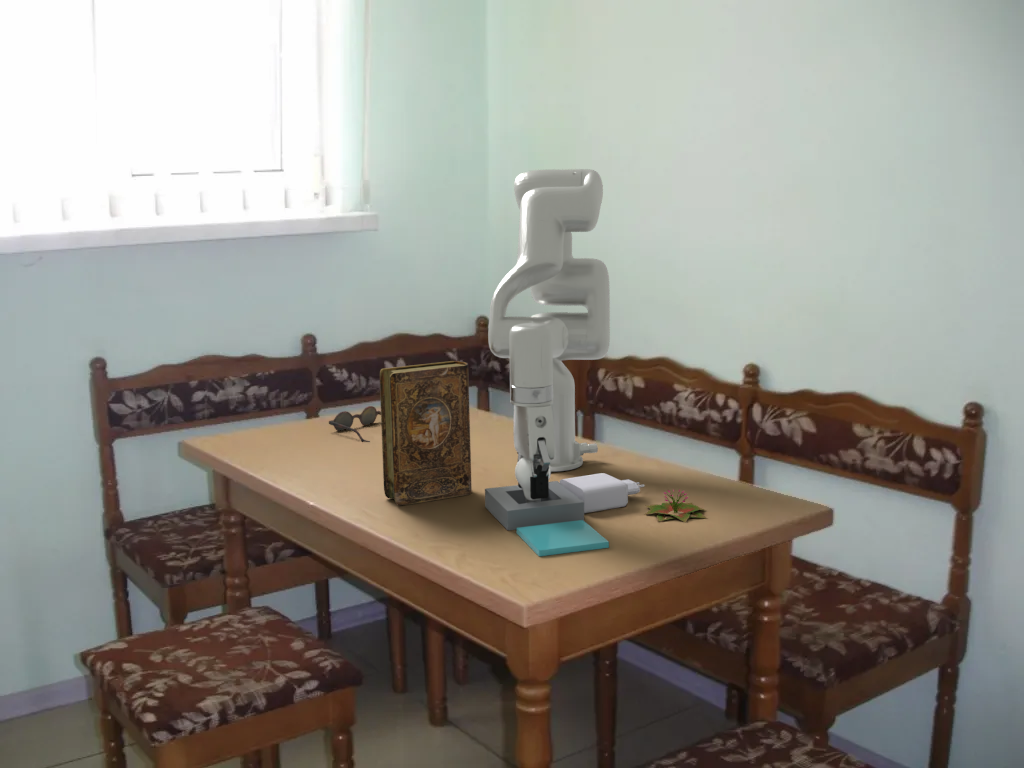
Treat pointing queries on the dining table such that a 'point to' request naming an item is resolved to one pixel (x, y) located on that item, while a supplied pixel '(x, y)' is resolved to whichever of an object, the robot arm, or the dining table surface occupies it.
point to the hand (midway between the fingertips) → (533, 491)
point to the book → (425, 432)
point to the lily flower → (675, 509)
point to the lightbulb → (526, 477)
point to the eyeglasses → (346, 419)
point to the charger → (601, 491)
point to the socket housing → (533, 506)
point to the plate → (562, 538)
